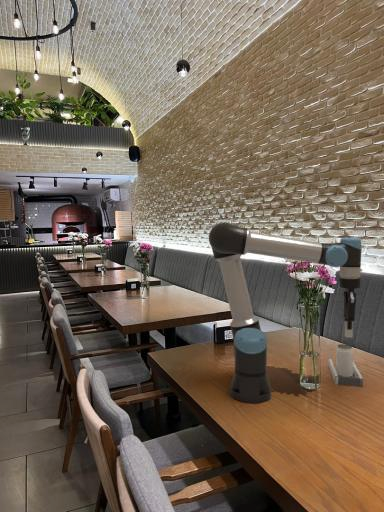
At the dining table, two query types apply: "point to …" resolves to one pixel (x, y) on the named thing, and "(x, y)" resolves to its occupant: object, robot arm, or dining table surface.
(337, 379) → the grey flat u-shaped frame
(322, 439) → the dining table surface
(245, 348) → the robot arm
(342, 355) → the can
